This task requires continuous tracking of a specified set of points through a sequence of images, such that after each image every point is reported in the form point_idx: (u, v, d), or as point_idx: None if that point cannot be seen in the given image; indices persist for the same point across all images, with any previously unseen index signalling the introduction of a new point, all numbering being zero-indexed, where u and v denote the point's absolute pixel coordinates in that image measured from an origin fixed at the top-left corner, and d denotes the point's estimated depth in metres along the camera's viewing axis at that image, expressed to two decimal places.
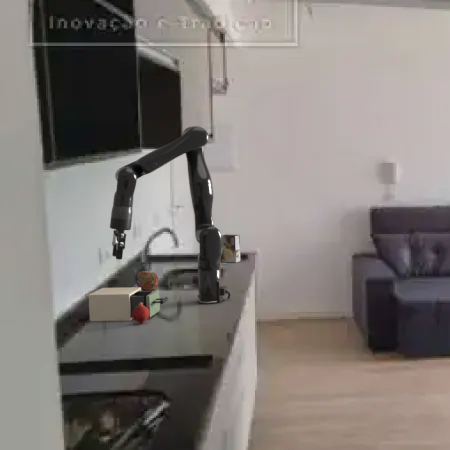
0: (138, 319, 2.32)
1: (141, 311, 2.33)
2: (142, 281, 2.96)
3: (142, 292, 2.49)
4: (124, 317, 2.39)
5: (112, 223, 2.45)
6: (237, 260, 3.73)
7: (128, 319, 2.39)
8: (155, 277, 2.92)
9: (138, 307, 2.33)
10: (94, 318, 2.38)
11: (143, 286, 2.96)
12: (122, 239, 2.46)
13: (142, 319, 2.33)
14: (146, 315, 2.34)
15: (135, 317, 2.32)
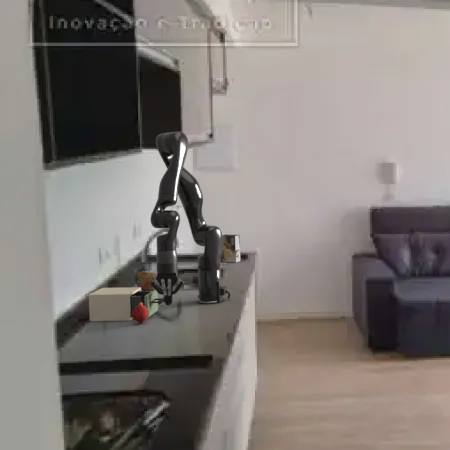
0: (138, 319, 2.32)
1: (141, 311, 2.33)
2: (142, 281, 2.96)
3: (140, 292, 2.49)
4: (124, 317, 2.39)
5: (169, 269, 2.42)
6: (237, 260, 3.73)
7: (128, 319, 2.39)
8: (155, 277, 2.92)
9: (138, 307, 2.33)
10: (94, 318, 2.38)
11: (143, 286, 2.96)
12: None
13: (142, 319, 2.33)
14: (146, 315, 2.34)
15: (135, 317, 2.32)
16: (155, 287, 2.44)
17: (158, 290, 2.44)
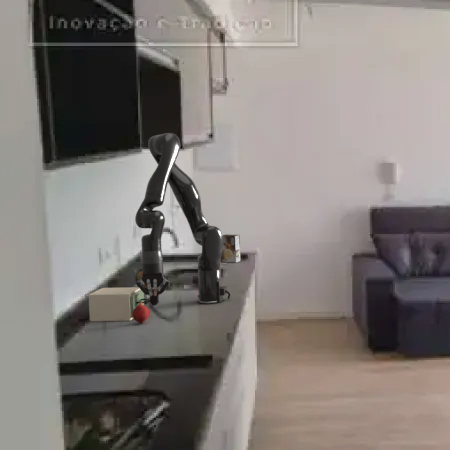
0: (138, 319, 2.32)
1: (141, 311, 2.33)
2: None
3: None
4: (124, 317, 2.39)
5: (154, 269, 2.41)
6: (237, 260, 3.73)
7: (128, 319, 2.39)
8: None
9: (138, 307, 2.33)
10: (94, 318, 2.38)
11: None
12: None
13: (142, 319, 2.33)
14: (146, 315, 2.34)
15: (135, 317, 2.32)
16: (141, 287, 2.43)
17: (144, 290, 2.43)
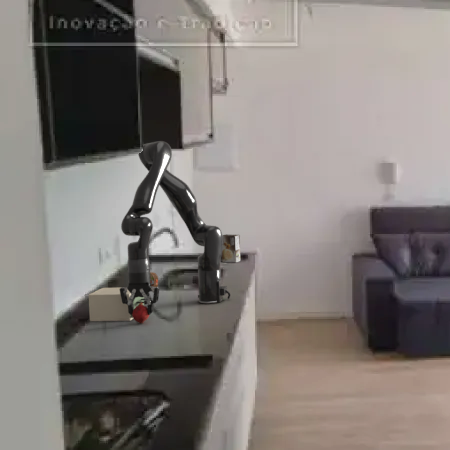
0: (138, 319, 2.32)
1: (141, 311, 2.33)
2: None
3: None
4: (124, 317, 2.39)
5: (141, 278, 2.30)
6: (237, 260, 3.73)
7: (128, 319, 2.39)
8: (155, 277, 2.92)
9: (138, 307, 2.33)
10: (94, 318, 2.38)
11: None
12: None
13: (142, 319, 2.33)
14: (146, 315, 2.34)
15: (135, 317, 2.32)
16: (122, 295, 2.32)
17: (123, 299, 2.32)
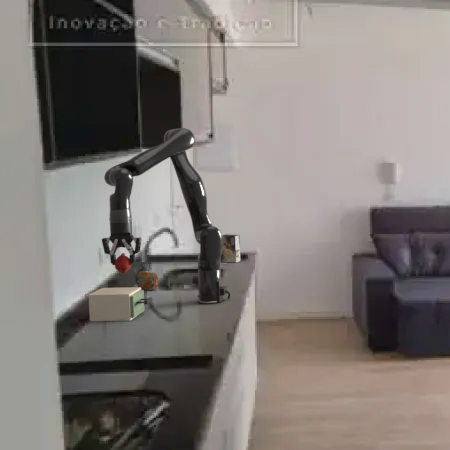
0: (120, 269, 2.37)
1: (124, 261, 2.37)
2: (143, 281, 2.96)
3: None
4: (124, 317, 2.39)
5: (122, 228, 2.35)
6: (237, 260, 3.73)
7: (128, 319, 2.39)
8: (155, 277, 2.92)
9: (120, 257, 2.37)
10: (94, 318, 2.38)
11: (143, 286, 2.96)
12: None
13: (124, 269, 2.37)
14: (128, 265, 2.38)
15: (117, 267, 2.36)
16: (104, 245, 2.36)
17: (105, 249, 2.37)
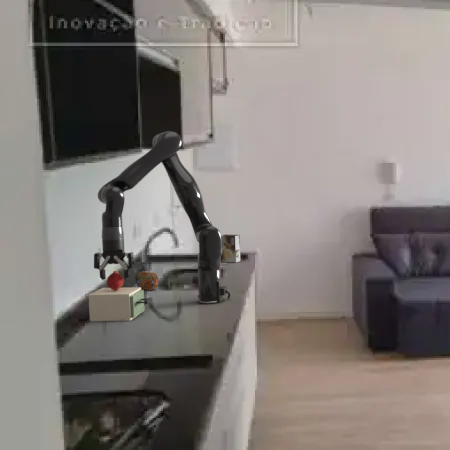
0: (112, 286, 2.41)
1: (116, 279, 2.41)
2: (143, 281, 2.96)
3: None
4: (124, 317, 2.39)
5: (114, 245, 2.39)
6: (237, 260, 3.73)
7: (128, 319, 2.39)
8: (155, 277, 2.92)
9: (112, 274, 2.42)
10: (94, 318, 2.38)
11: (143, 286, 2.96)
12: (123, 259, 2.43)
13: (116, 286, 2.42)
14: (120, 282, 2.42)
15: (109, 284, 2.41)
16: (95, 260, 2.41)
17: (95, 264, 2.41)
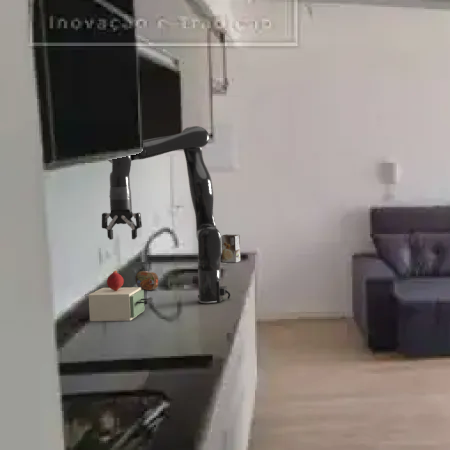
0: (112, 286, 2.41)
1: (116, 279, 2.41)
2: (143, 281, 2.96)
3: None
4: (124, 317, 2.39)
5: (122, 205, 2.41)
6: (237, 260, 3.73)
7: (128, 319, 2.39)
8: (155, 277, 2.92)
9: (112, 274, 2.42)
10: (94, 318, 2.38)
11: (143, 286, 2.96)
12: (130, 219, 2.46)
13: (116, 286, 2.42)
14: (120, 282, 2.42)
15: (109, 284, 2.41)
16: (103, 219, 2.43)
17: (103, 223, 2.43)
